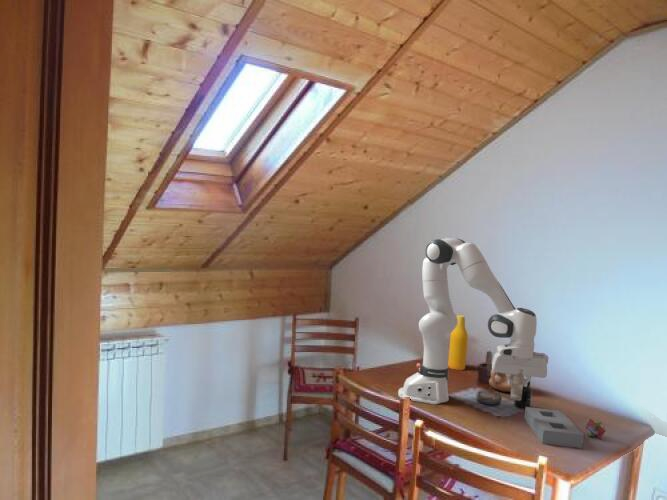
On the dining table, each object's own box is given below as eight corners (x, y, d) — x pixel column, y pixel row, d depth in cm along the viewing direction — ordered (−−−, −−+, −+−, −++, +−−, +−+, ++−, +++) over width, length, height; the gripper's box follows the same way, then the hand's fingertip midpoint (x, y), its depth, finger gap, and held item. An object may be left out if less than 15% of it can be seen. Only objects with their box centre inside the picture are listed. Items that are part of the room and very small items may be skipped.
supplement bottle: (531, 410, 218) (534, 383, 218) (515, 408, 220) (517, 381, 219) (528, 405, 225) (531, 378, 225) (512, 403, 226) (515, 376, 226)
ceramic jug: (505, 383, 256) (507, 355, 256) (528, 392, 243) (530, 363, 243) (478, 387, 248) (480, 358, 247) (501, 396, 235) (503, 366, 234)
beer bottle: (446, 364, 284) (451, 313, 283) (463, 366, 283) (468, 315, 282) (448, 369, 275) (453, 316, 274) (466, 371, 274) (470, 318, 273)
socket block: (542, 443, 184) (543, 430, 184) (524, 418, 208) (525, 406, 208) (582, 447, 183) (583, 434, 182) (559, 422, 206) (560, 410, 206)
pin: (511, 399, 195) (515, 369, 194) (509, 396, 199) (512, 366, 198) (522, 401, 194) (526, 370, 193) (519, 397, 198) (523, 367, 197)
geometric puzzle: (613, 435, 191) (602, 414, 195) (603, 438, 187) (592, 417, 191) (597, 440, 196) (587, 420, 200) (587, 443, 192) (577, 422, 196)
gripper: (546, 351, 197) (542, 386, 198) (493, 345, 199) (489, 379, 200) (551, 356, 191) (547, 391, 192) (496, 349, 193) (492, 385, 194)
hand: (517, 385), depth 196 cm, fingers closed on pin, 4 cm apart
